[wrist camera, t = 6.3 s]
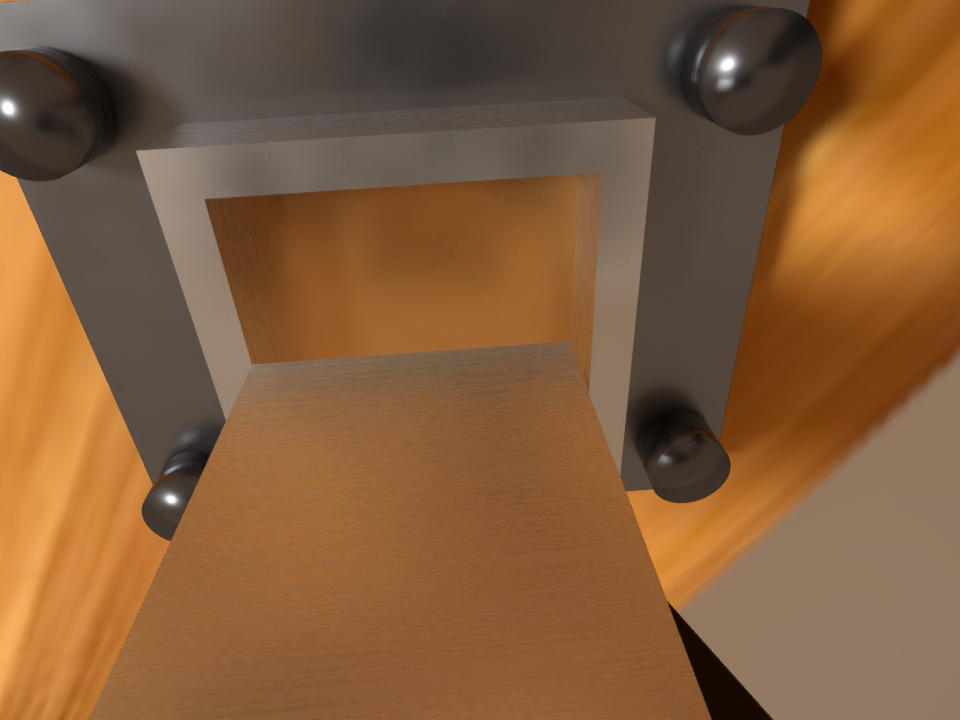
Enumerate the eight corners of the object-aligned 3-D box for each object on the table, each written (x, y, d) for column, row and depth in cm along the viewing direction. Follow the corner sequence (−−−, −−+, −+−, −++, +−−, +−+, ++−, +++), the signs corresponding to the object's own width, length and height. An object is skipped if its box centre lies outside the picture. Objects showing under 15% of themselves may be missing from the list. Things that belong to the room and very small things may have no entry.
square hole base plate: (773, -41, 15) (895, -47, 11) (689, 446, 23) (742, 541, 19) (-2, 1, 14) (-161, 11, 10) (192, 487, 22) (143, 594, 18)
